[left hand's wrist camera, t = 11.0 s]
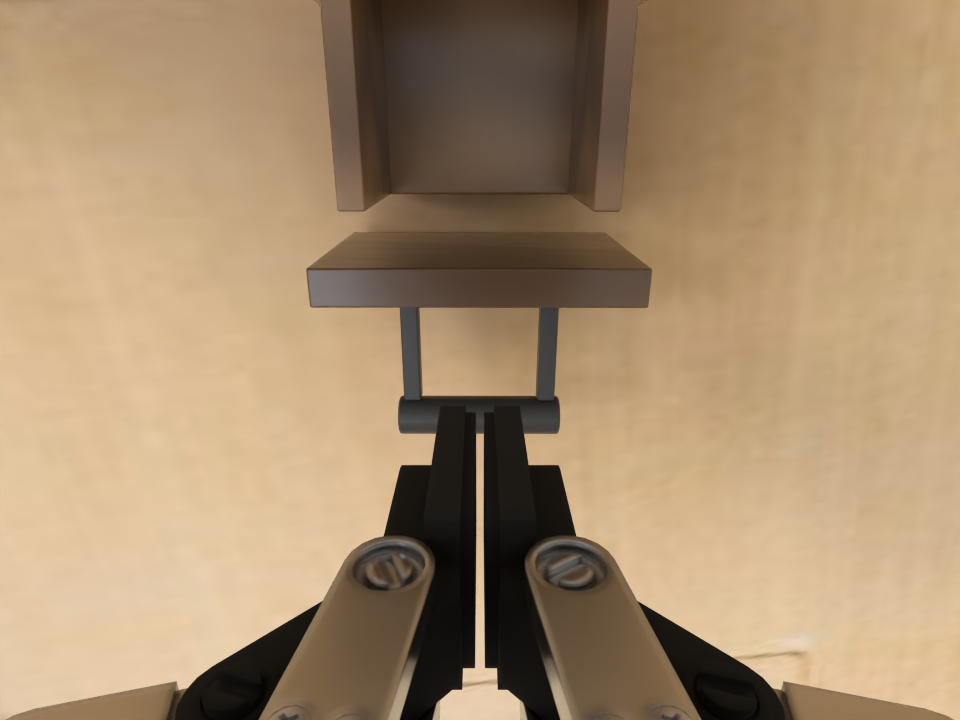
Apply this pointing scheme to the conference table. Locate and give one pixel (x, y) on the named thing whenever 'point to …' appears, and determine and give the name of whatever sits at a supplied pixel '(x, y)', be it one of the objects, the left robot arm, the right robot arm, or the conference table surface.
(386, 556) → the left robot arm
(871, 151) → the conference table surface
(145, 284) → the conference table surface
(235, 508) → the conference table surface
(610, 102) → the drawer
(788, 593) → the conference table surface
